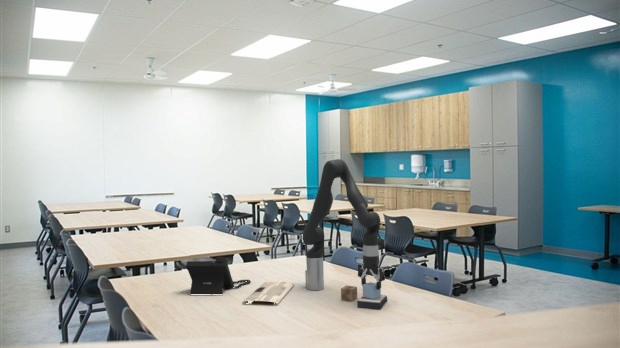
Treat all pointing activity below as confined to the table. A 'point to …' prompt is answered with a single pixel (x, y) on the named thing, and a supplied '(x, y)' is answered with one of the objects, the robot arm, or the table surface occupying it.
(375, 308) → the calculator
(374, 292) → the slate block
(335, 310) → the table surface
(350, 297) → the walnut block
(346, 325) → the table surface
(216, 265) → the office phone
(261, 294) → the newspaper
